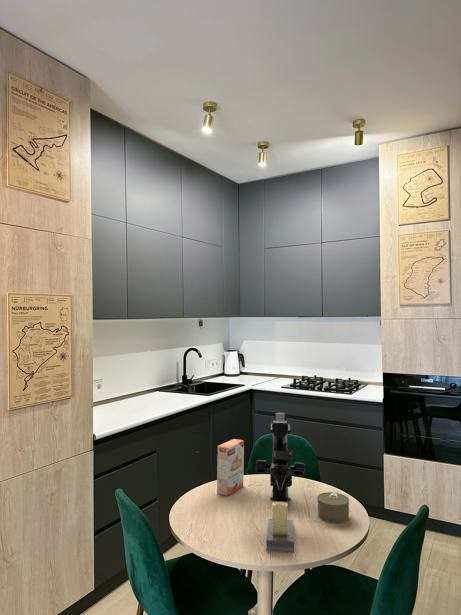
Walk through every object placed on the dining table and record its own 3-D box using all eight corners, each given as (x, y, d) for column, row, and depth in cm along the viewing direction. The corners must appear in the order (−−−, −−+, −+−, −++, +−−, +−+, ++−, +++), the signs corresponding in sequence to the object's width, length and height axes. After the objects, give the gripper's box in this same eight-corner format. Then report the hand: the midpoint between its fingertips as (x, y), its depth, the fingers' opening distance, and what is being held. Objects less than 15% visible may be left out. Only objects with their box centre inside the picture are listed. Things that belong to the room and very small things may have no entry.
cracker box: (228, 496, 187) (228, 447, 188) (216, 493, 190) (216, 445, 191) (244, 486, 199) (244, 440, 199) (233, 483, 202) (233, 438, 203)
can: (315, 521, 165) (315, 502, 165) (319, 507, 176) (319, 490, 176) (348, 525, 161) (348, 506, 161) (350, 511, 172) (349, 494, 173)
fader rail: (268, 522, 163) (268, 513, 163) (292, 523, 162) (292, 514, 162) (266, 551, 143) (266, 540, 143) (294, 552, 142) (293, 541, 142)
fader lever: (271, 535, 150) (271, 500, 150) (289, 536, 149) (288, 501, 150) (271, 542, 145) (270, 506, 145) (289, 543, 144) (289, 507, 145)
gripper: (257, 439, 168) (255, 479, 157) (305, 442, 167) (307, 482, 156) (256, 452, 176) (254, 491, 165) (303, 455, 175) (304, 495, 164)
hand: (280, 489), depth 162 cm, fingers closed
